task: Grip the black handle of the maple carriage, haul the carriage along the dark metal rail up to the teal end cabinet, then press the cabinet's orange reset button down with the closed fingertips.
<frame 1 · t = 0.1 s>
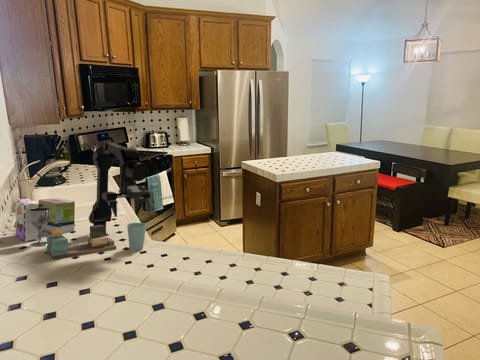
hand: (126, 215, 148), 15 cm above the worktop, tool pointing down, fingers open, 9 cm apart
wine glass: (40, 244, 151), on the worktop
candy box: (27, 238, 159), on the worktop
reset button: (57, 232, 138), point 9 cm above the worktop, slide at 0.0 cm
carriage: (97, 235, 149), point 6 cm above the worktop, slide at 0.0 cm
cup: (136, 249, 152), on the worktop
rail: (82, 250, 145), on the worktop
tea box: (56, 230, 173), on the worktop
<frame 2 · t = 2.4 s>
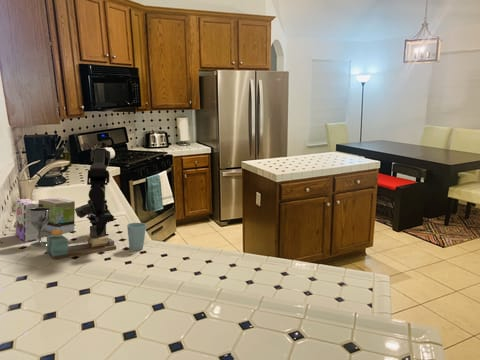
hand: (97, 234, 149), 6 cm above the worktop, tool pointing down, fingers closed on carriage, 3 cm apart
carriage: (97, 235, 149), point 6 cm above the worktop, slide at 0.0 cm, touching gripper
everything else where it was.
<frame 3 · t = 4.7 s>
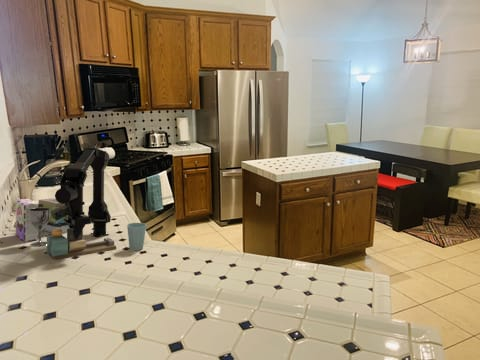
hand: (74, 237, 142), 6 cm above the worktop, tool pointing down, fingers closed on carriage, 3 cm apart
carriage: (74, 238, 142), point 6 cm above the worktop, slide at 8.9 cm, touching gripper
everything else where it was.
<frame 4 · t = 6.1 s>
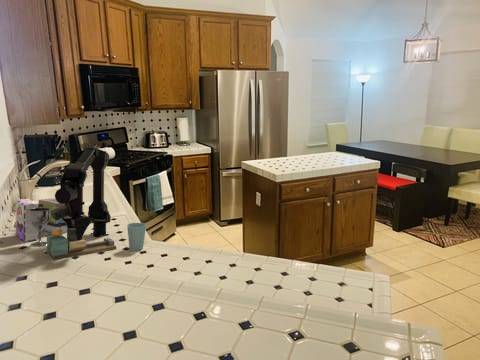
hand: (74, 237, 142), 6 cm above the worktop, tool pointing down, fingers open, 9 cm apart
carriage: (74, 238, 142), point 6 cm above the worktop, slide at 8.9 cm
everything else where it was.
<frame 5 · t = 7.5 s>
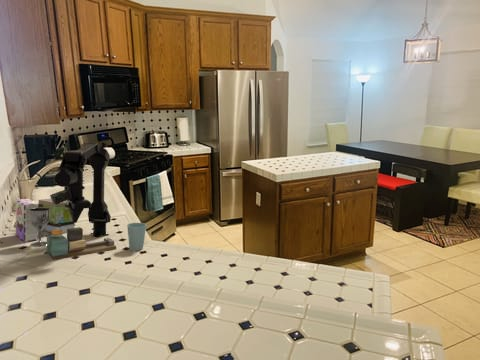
hand: (74, 222, 142), 12 cm above the worktop, tool pointing down, fingers closed
nothing on the worktop moved.
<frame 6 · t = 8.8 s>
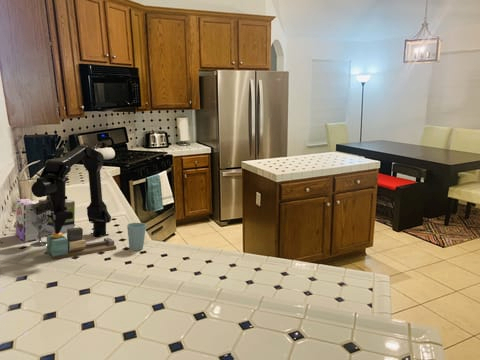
hand: (57, 233, 138), 9 cm above the worktop, tool pointing down, fingers closed, pressing on reset button
reset button: (57, 235, 138), point 8 cm above the worktop, slide at 1.0 cm, touching gripper
everything else where it was.
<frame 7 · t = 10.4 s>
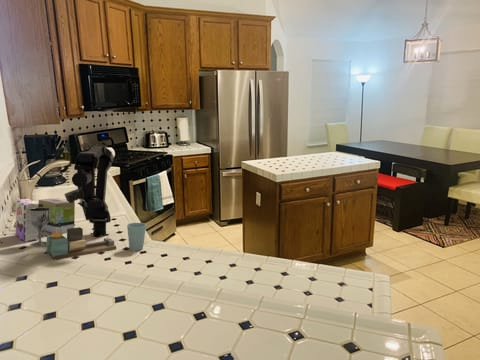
hand: (87, 219, 149), 11 cm above the worktop, tool pointing down, fingers closed
reset button: (57, 235, 138), point 8 cm above the worktop, slide at 1.0 cm
everything else where it was.
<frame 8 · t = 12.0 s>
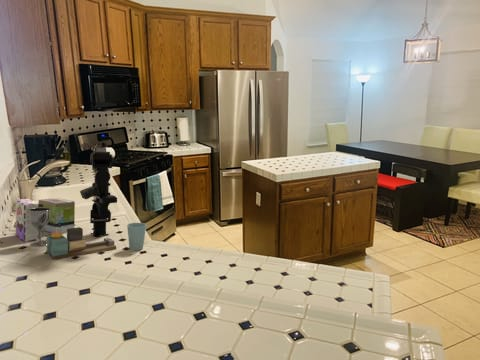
hand: (101, 216, 155), 12 cm above the worktop, tool pointing down, fingers closed
nothing on the worktop moved.
at the end: carriage slide at 8.9 cm; reset button slide at 1.0 cm; the gripper is holding nothing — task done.
